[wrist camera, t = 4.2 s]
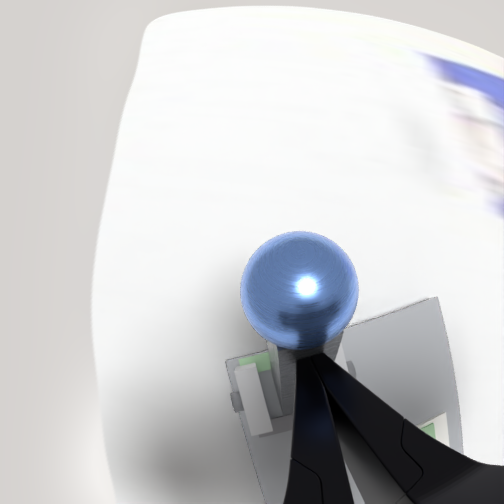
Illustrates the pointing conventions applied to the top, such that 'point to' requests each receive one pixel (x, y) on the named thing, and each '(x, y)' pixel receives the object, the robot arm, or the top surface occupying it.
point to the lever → (298, 302)
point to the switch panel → (370, 375)
